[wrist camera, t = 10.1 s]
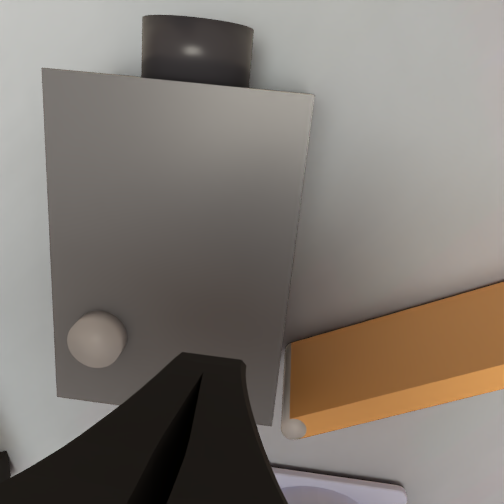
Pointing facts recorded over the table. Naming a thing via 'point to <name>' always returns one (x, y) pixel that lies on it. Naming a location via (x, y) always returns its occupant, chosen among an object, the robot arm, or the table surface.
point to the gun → (4, 467)
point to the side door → (395, 364)
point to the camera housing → (172, 212)
